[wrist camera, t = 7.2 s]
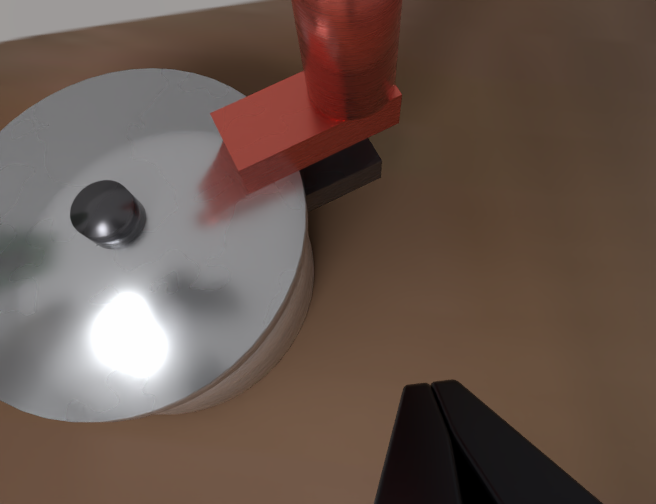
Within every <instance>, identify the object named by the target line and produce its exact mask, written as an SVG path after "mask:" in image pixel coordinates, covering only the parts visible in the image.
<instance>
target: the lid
mask: <svg viewBox="0 0 656 504" xmlns="http://www.w3.org/2000/svg"><path fill="white" fill-rule="evenodd" d="M291 1H292V6H293V12H294V18H295V23H296V29H297V35H298V41H299V46H300V52H301V58H302V64H303V69H304V71H302V72H300V73H297V74H295V75H293V76H291V77H289V78H286V79H284V80H282V81H280V82H278V83H275V84H273V85H271V86H269V87H267V88H264V89H262V90H260V91H258V92H256V93H253V94H251V95H249V96H247V97H246V96H245V95H243V94H242V93H240V92H238V91H237V90H235V89H234V88H232V87H230V86H228V85H226V84H223V83H221V82H219V81H217V80H214V79H212V78H209V77H205V76H202V75H199V74H195V73H191V72H185V71H179V70H174V69H156V68H148V69H131V70H125V71H119V72H113V73H108V74H104V75H100V76H97V77H93V78H89V79H86V80H84V81H81V82H79V83H76V84H73V85H71V86H68V87H66V88H64V89H62V90H60V91H58V92H56V93H54V94H52V95H50V96H48V97H46V98H44V99H43V100H41V101H40V102H38V103H36V104H35V105H33V106H32V107H30V108H28V109H27V110H26V111H24V112H23V113H22V114H20V115H19V116H18V117H17V118H15V119H14V120H13V121H11V122H10V123H9V124H8V125H7V126H6V127H5V128H3V129H2V130H1V131H0V400H1V401H3V402H5V403H7V404H9V405H11V406H13V407H15V408H17V409H19V410H21V411H24V412H27V413H31V414H34V415H37V416H40V417H44V418H48V419H55V420H62V421H69V422H118V421H125V420H132V419H138V418H143V417H147V416H150V415H154V414H157V413H160V412H164V411H167V410H170V409H172V408H174V407H177V406H179V405H181V404H184V403H186V402H188V401H190V400H193V399H194V398H196V397H198V396H199V395H201V394H203V393H204V392H206V391H208V390H210V389H211V388H213V387H215V386H216V385H218V384H219V383H220V382H221V381H223V380H224V379H225V378H227V377H228V376H229V375H231V374H232V373H233V372H234V371H236V370H237V369H238V368H239V367H240V366H241V365H242V364H243V363H244V362H245V361H246V360H247V359H248V358H249V357H250V356H251V355H252V354H253V353H254V352H255V351H256V350H257V349H258V348H259V347H260V346H261V344H262V343H263V342H264V341H265V339H266V338H267V337H268V335H269V334H270V333H271V332H272V330H273V329H274V328H275V326H276V324H277V323H278V321H279V319H280V318H281V316H282V314H283V313H284V311H285V309H286V308H287V306H288V304H289V302H290V299H291V297H292V295H293V293H294V290H295V288H296V286H297V283H298V280H299V277H300V273H301V270H302V267H303V263H304V259H305V253H306V246H307V239H308V210H307V203H306V195H305V191H304V187H303V183H302V179H301V176H300V172H299V170H301V169H303V168H305V167H307V166H309V165H311V164H314V163H316V162H318V161H320V160H322V159H324V158H326V157H328V156H330V155H333V154H335V153H337V152H339V151H341V150H343V149H345V148H347V147H349V146H351V145H354V144H356V143H358V142H360V141H362V140H364V139H366V138H368V137H370V136H372V135H375V134H377V133H379V132H381V131H383V130H385V129H387V128H389V127H391V126H393V125H396V124H398V123H399V116H400V107H401V98H402V94H401V92H400V91H399V89H398V88H397V86H396V85H395V78H396V66H397V55H398V43H399V32H400V20H401V9H402V0H291Z"/></svg>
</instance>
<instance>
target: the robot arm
mask: <svg viewBox="0 0 656 504" xmlns="http://www.w3.org/2000/svg"><path fill="white" fill-rule="evenodd" d="M374 504H603V503H602V502H600V501H599V500H598V499H597V498H596V497H594V496H593V495H592V494H591V493H590V492H589V491H587V490H586V489H585V488H584V487H583V486H581V485H580V484H579V483H578V482H577V481H576V480H574V479H573V478H572V477H571V476H570V475H568V474H567V473H566V472H565V471H564V470H563V469H561V468H560V467H559V466H558V465H557V464H555V463H554V462H553V461H552V460H551V459H549V458H548V457H547V456H546V455H545V454H544V453H542V452H541V451H540V450H539V449H538V448H536V447H535V446H534V445H533V444H532V443H531V442H529V441H528V440H527V439H526V438H525V437H523V436H522V435H521V434H520V433H519V432H517V431H516V430H515V429H514V428H513V427H512V426H510V425H509V424H508V423H507V422H506V421H504V420H503V419H502V418H501V417H500V416H499V415H497V414H496V413H495V412H494V411H493V410H491V409H490V408H489V407H488V406H487V405H485V404H484V403H483V402H482V401H481V400H480V399H478V398H477V397H476V396H475V395H474V394H472V393H471V392H470V391H469V390H468V389H467V388H465V387H464V386H463V385H462V384H461V383H459V382H458V381H456V380H444V381H436V382H433V383H431V385H429V384H428V383H418V384H410V385H406V386H405V387H404V388H403V392H402V395H401V399H400V403H399V407H398V411H397V415H396V419H395V423H394V427H393V431H392V435H391V439H390V443H389V447H388V450H387V454H386V458H385V462H384V466H383V470H382V474H381V478H380V482H379V486H378V490H377V494H376V498H375V502H374Z"/></svg>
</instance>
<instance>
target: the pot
mask: <svg viewBox="0 0 656 504" xmlns="http://www.w3.org/2000/svg"><path fill="white" fill-rule="evenodd" d="M381 164H382V160H381V158H380V157H379V155H378V153H377V152H376V150H375V149H374V147H373V145H372V144H371V142H370V140H369V139H368V138H366V139H364V140H362V141H360V142H358V143H356V144H354V145H351V146H349V147H347V148H345V149H343V150H341V151H339V152H337V153H335V154H333V155H330V156H328V157H326V158H324V159H322V160H320V161H318V162H316V163H314V164H311V165H309V166H307V167H305V168H303V169H301V170H299V172H300V176H301V179H302V183H303V187H304V191H305V195H306V203H307V210H308V212H309V211H311V210H313V209H315V208H318V207H320V206H322V205H324V204H326V203H328V202H330V201H332V200H334V199H336V198H339V197H341V196H343V195H345V194H347V193H349V192H351V191H353V190H355V189H357V188H360V187H362V186H364V185H366V184H368V183H370V182H372V181H374V180H376V179H378V178H381ZM313 283H314V260H313V252H312V246H311V243H310V239H309V235H308V239H307V246H306V253H305V259H304V263H303V267H302V270H301V273H300V277H299V280H298V283H297V286H296V288H295V290H294V293H293V295H292V297H291V299H290V302H289V304H288V306H287V308H286V309H285V311H284V313H283V314H282V316H281V318H280V319H279V321H278V323H277V324H276V326H275V328H274V329H273V330H272V332H271V333H270V334H269V335H268V337H267V338H266V339H265V341H264V342H263V343H262V344H261V346H260V347H259V348H258V349H257V350H256V351H255V352H254V353H253V354H252V355H251V356H250V357H249V358H248V359H247V360H246V361H245V362H244V363H243V364H242V365H241V366H240V367H239V368H238V369H237V370H236V371H234V372H233V373H232V374H231V375H229V376H228V377H227V378H225V379H224V380H223V381H221V382H220V383H219V384H218V385H216V386H215V387H213V388H211V389H210V390H208V391H206V392H204V393H203V394H201V395H199V396H198V397H196V398H194V399H193V400H190V401H188V402H186V403H184V404H181V405H179V406H177V407H174V408H172V409H170V410H167V411H164V412H160V413H157V414H183V413H190V412H196V411H200V410H203V409H207V408H211V407H214V406H216V405H219V404H221V403H223V402H226V401H228V400H230V399H232V398H234V397H236V396H238V395H239V394H241V393H243V392H244V391H246V390H248V389H249V388H251V387H252V386H253V385H254V384H256V383H257V382H258V381H260V380H261V379H262V378H263V377H265V376H266V375H267V374H268V373H269V372H270V371H271V370H272V369H273V368H274V367H275V366H276V365H277V364H278V362H279V361H280V360H281V359H282V357H283V356H284V355H285V353H286V352H287V351H288V350H289V348H290V347H291V345H292V343H293V342H294V340H295V338H296V336H297V335H298V333H299V331H300V329H301V327H302V324H303V322H304V320H305V317H306V315H307V311H308V308H309V304H310V301H311V297H312V290H313Z"/></svg>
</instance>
